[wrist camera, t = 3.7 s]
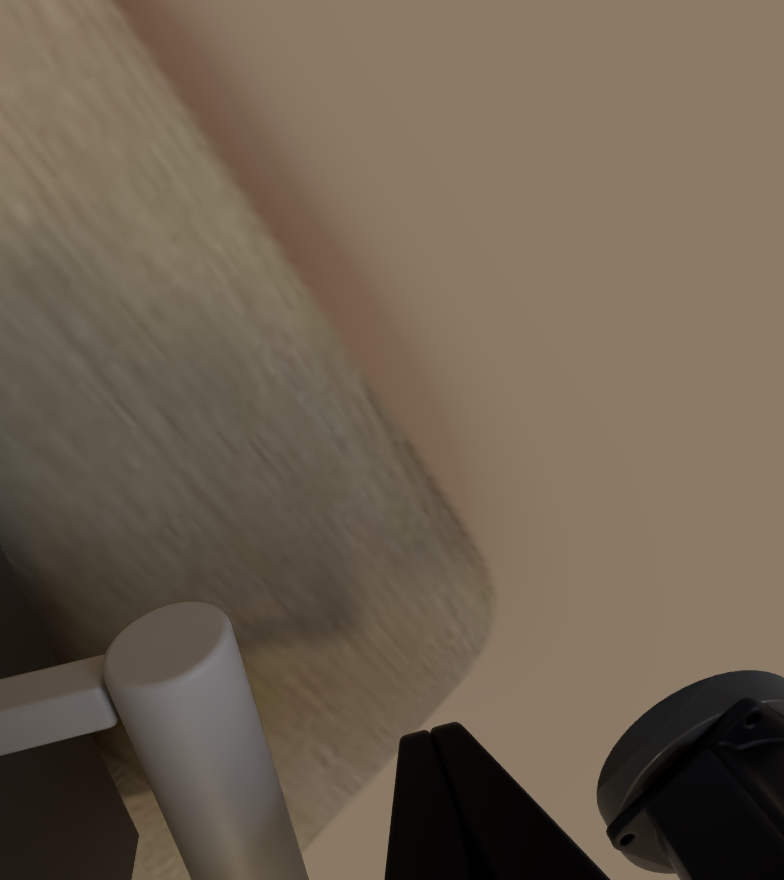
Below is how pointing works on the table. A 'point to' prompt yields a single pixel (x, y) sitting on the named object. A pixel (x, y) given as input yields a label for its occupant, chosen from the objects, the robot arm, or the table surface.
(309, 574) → the table surface
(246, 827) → the drawer
